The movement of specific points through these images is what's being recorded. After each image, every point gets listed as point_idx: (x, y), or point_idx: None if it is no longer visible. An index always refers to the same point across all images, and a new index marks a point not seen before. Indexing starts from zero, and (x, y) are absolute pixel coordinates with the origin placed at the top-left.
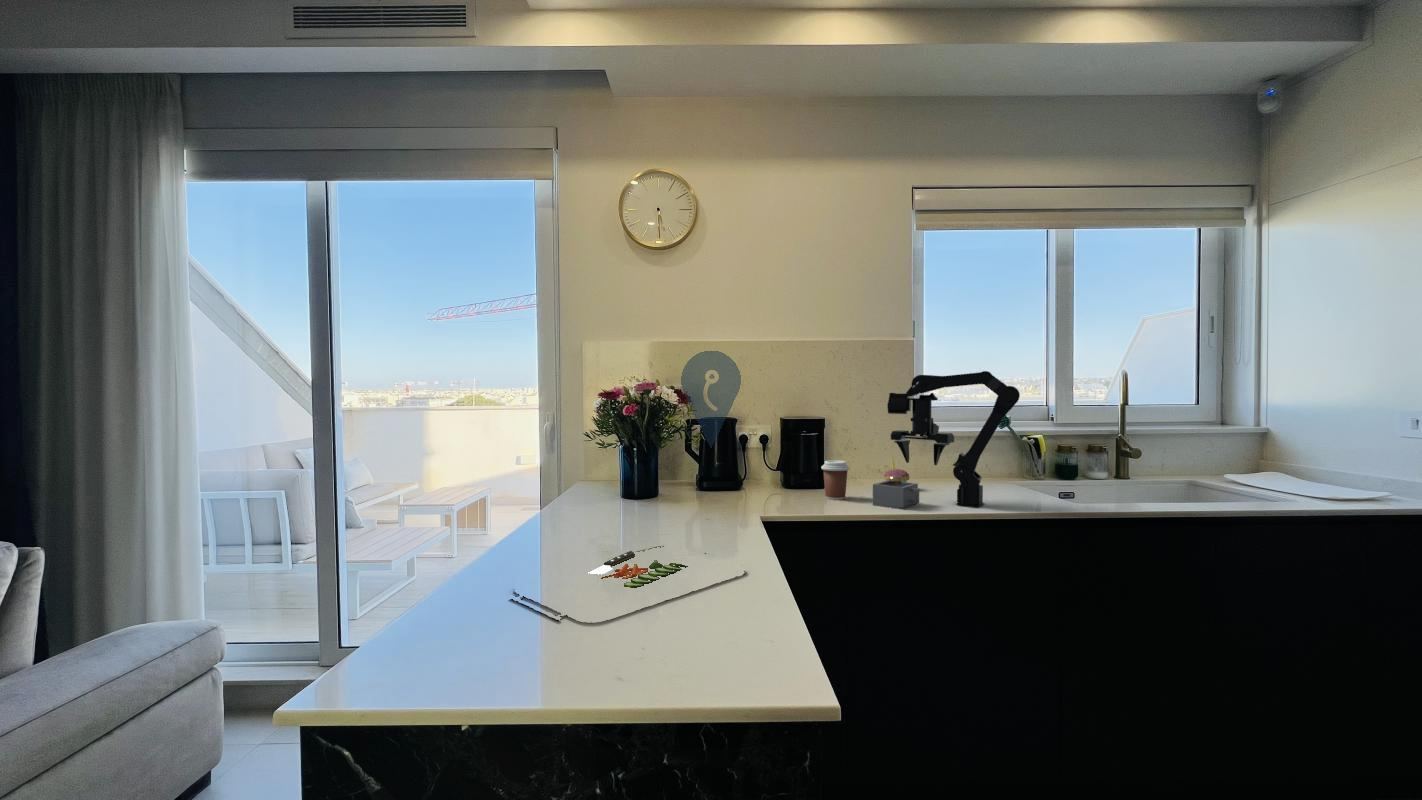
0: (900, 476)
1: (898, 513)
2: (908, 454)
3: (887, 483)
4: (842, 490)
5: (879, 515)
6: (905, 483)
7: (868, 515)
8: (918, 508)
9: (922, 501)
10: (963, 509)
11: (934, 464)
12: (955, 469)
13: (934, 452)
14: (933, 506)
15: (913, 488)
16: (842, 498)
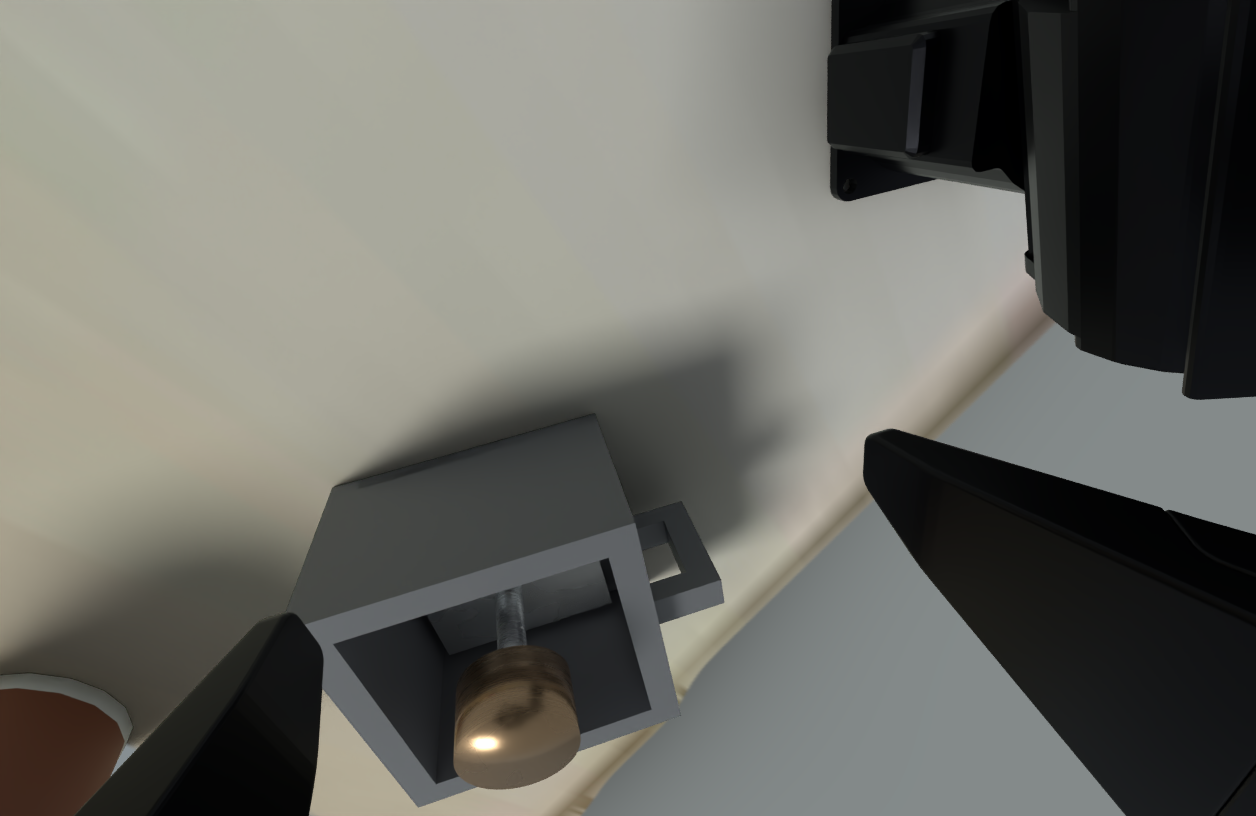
0: (550, 719)
1: (682, 654)
2: (208, 812)
3: (356, 650)
4: (91, 788)
5: (648, 732)
6: (523, 577)
7: (616, 763)
8: (681, 500)
9: (533, 279)
10: (914, 286)
11: (874, 494)
12: (1154, 355)
13: (1114, 772)
14: (715, 373)
15: (677, 603)
16: (123, 719)
